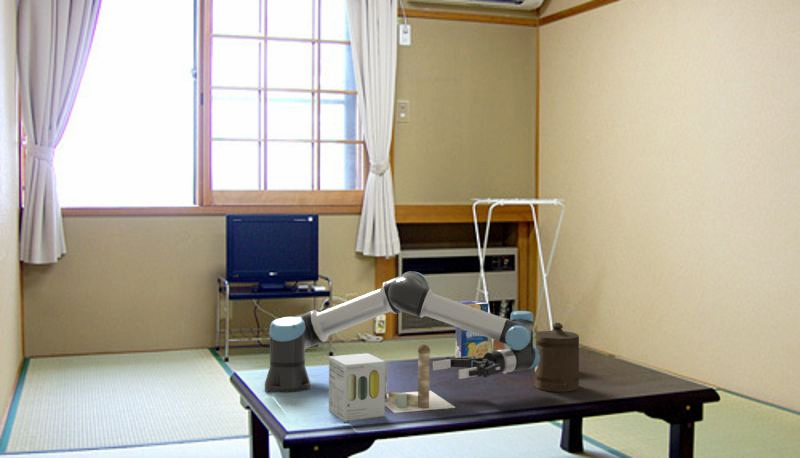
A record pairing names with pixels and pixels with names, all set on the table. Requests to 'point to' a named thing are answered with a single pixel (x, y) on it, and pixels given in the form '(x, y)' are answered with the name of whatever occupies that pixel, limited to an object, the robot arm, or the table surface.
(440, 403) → the board
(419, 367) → the gate
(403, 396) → the post
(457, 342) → the blue tall rectangular box
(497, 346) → the small box
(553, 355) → the wooden container
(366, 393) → the supplement box
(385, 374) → the hinge post
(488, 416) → the table surface
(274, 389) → the robot arm
